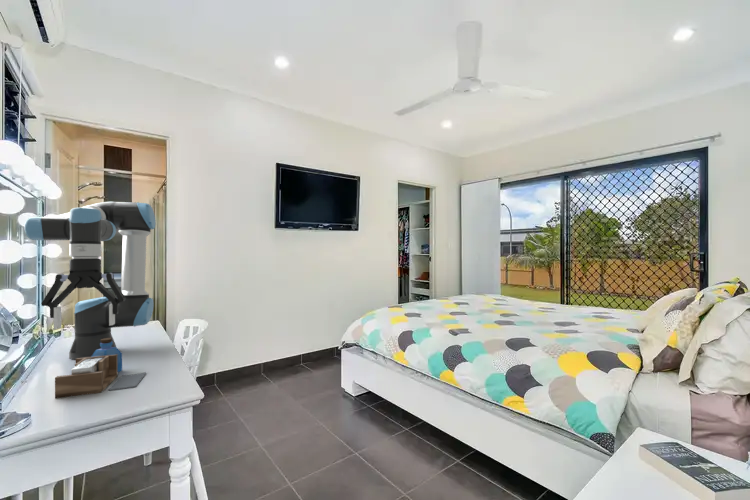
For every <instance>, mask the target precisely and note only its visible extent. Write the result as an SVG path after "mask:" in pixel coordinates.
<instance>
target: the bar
mask: <svg viewBox="0 0 750 500" xmlns="http://www.w3.org/2000/svg"><path fill="white" fill-rule="evenodd" d="M102 359H103V358H95V359H86V360H84V361H83V362H81V363H80V364H78V365H77V366H76V367H75V366H74V367H73V368H71V375H72V374H81V373H90V372H99V361H100V360H102Z"/></svg>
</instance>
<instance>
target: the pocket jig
mask: <svg viewBox="0 0 750 500" xmlns="http://www.w3.org/2000/svg"><path fill="white" fill-rule="evenodd" d="M95 358H103V359H102V360H100V361H99V372H90V373H81V374H72V373H71V374H65V375H57V376H56V377H54V399H60V398H61V399H62V398H67V397H76V396H77V397H78V396H85V395H92V394H100V393H103V392H104V391H105V390H106V389H107V387H109V386H110V385H111V384H112V382H113V381H115V380H116V379H117V378H118V375H119V374H118V373H119V372H118V354H115V355H105V356H95V357H84V358H77V359H75V364H74V367H76V366H77V365H78V364H80V363H81V362H83V361H84V360H86V359H95Z"/></svg>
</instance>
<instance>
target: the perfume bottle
mask: <svg viewBox="0 0 750 500" xmlns="http://www.w3.org/2000/svg"><path fill="white" fill-rule="evenodd" d="M111 340H112V338H104V339H101V343H100V346H101V349H97V350H96V351H95V352H94V353H93V355H92V356H91V357H95V356H105V355H115V354H118V373H119V372H122V371H123V353H122V351H120V349H119V348H118V347H117V346H116V347H112V344H113V342H112V341H111Z"/></svg>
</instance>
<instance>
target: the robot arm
mask: <svg viewBox="0 0 750 500" xmlns="http://www.w3.org/2000/svg"><path fill="white" fill-rule="evenodd" d="M156 225H157V224H156V216H155V212H154V209H153V207H152V205H151V204H149V203H145V202H139V201H138V202H136V201H135V202H133V201H132V202H129V201H128V202H127V201H126V202H125V201H104V202H103V201H102V202H97V203H92V204H87V205H83V206H82V207H73V208H71V209H70V211H69V212H65V213H62V214H57V215H52V216H32V217H29V218H28V219H27V220H25V223H24V233H25V235H26V237H27V238H29V239H30V240H32V241H42V242H43V241H69V257H70V259H69V261H68V262H69V264H68V265H69V266H68V269H69V273H68V274H63V273H60V274H56V275H55V277H54V282H53V284H52V285H51V287H50V289H49V290H48V292H47V294H46V295H45V297H44V298H43V300H42V302H41V306H43V307H45V306H46V307H48V308H49V318H50V319H53V330H58V329H61V328H62V306H61V305H60V304H61V303H62V302H63V301H64V300H65V299H66V298H67V297H68V296H69V295H70V294H71V293H73V291H74V290H76V289H84V288H85V289H92V288H94V289H96V290H97V291H98V292H100V293H101V294H102V295H103V296H101V297H94V298H90V299H84V300H80V301H78V302H76V303H75V305H74V313H73V315H74V340H73V342H72V344H71V347H70V349H69V353H68V358H69V360H76V359H77V358H84V357H91V356H92V355H93V353H94V352H95V351H96V350H97V349H101V346H100V343H101V339H104V338H112V340H111V341H112V342H113V344H112V347H117V345H116V342H115V340H114V337H113V335H112V329H113V328H127V327H128V328H129V327H134V328H135V327H139V326H145V325H147V324H148V323H150V320H151V318H152V316H153V312H154V305H155V304H154V299H153V298H152V297H150V293H149V292H147V291H146V269H147V268H146V267H147V266H146V265H147V263H146V261H147V260H146V259H147V237H148V236H149V235H151V230H154V229H155V228H156ZM117 229H118V233H119V234H120V235H121V236H122V245H121V273H120V275H121V276H120V277H121V278H120V286H119V285H118V284H117V283H118V282H116V280H115V276H114V273H113V272H107V273H102V259H101V258H100V257H102V242H105V241H110V240H111V239H113V238H114V237H116V233H117ZM102 279H104V280H105V281H107V284H108V286H109V287H110V288H111V290H112V292H113V293H112V292H111V291H110V290H109V289H107V288H106V286H104V284H103V283H101V280H102ZM67 280H68V281H69V282H70V283H69V284H68V285H67V286H66V288H65V289H64V290H63V291H62V292H61V293H60V294H59V295H58V296H56V295H57V294H58V292H59V291H60V289H61V287H62V285H63V284H64V282H66V281H67ZM114 294H115V295H114ZM55 297H56V298H55ZM54 298H55V299H54ZM59 305H60V306H59Z"/></svg>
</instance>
